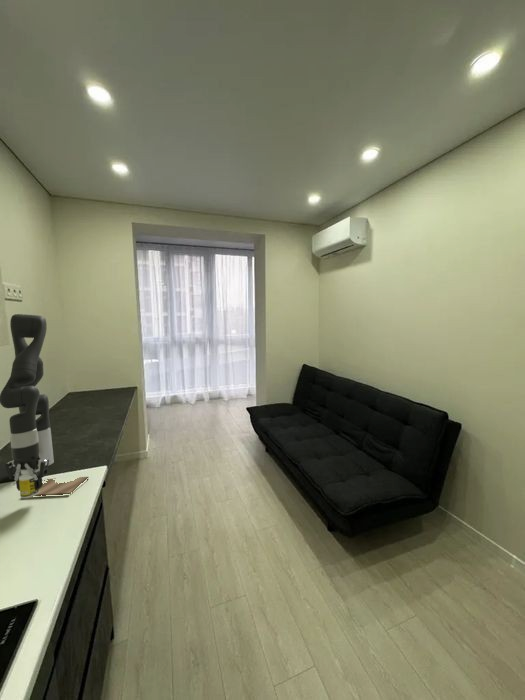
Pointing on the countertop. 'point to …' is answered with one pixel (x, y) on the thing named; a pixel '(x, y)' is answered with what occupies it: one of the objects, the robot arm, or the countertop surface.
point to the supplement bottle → (27, 484)
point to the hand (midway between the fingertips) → (29, 488)
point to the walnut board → (60, 487)
